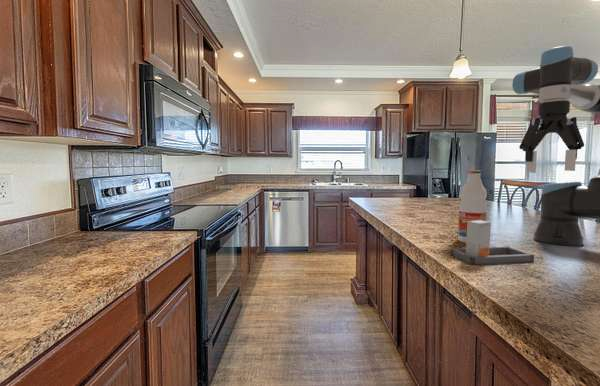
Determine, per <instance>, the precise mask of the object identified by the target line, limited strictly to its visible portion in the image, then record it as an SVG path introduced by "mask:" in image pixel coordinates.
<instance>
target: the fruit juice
mask: <svg viewBox="0 0 600 386" xmlns="http://www.w3.org/2000/svg"><path fill="white" fill-rule="evenodd" d="M466 174H467V179H466V180H465V184H464V185H463V186H462V188H461V190H460V192H459V195H460V198H461V201H460V202H459V205H458V206H459V208H458V230H457V231H458V237H457V238H458V241H459V242H460V243H463V244H464V243H465V244H466V238H467V222H468V221H476V220H482V221H487V204H486V199H487V196H488V195H487V194H488V192H487V189H486V188H485V186H484V185H483V182H482V179H481V175H482V170H480V169H479V170H478V169H477V170H475V169H474V170H473V169H472V170H470V169H469V170H467V171H466Z"/></svg>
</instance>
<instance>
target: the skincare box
mask: <svg viewBox="0 0 600 386" xmlns="http://www.w3.org/2000/svg"><path fill="white" fill-rule="evenodd" d="M491 227H492V222H491V221H487V220H486V221H482V220H476V221H468V222H467V238H466V243H465V247H466V254H467V255H469V256H472V257H476V256H490V254H489V247H490V239H491Z"/></svg>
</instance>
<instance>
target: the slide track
mask: <svg viewBox="0 0 600 386" xmlns="http://www.w3.org/2000/svg"><path fill="white" fill-rule="evenodd" d="M499 254H500V255H499ZM450 255H451V256H453V257H454V258H457V259H459V260H461V261H464V262H466V263H468V264H470V265H472V266H473V265H486V264H487V265H489V264H490V265H491V264H511V263H528V262H530V261H531V262H535V254H532V253H529V252H526V251H523V250H520V249H517V248H514V247H511V246H508V245H506V246H505V245H504V246H503V245H502V246H500V245H493V246H489V256H476V257H472V256H469V255H467V254H466V246H465V247H464V246H463V247H461V248H460V247H459V248H450ZM531 262H530V263H531Z"/></svg>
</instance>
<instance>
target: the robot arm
mask: <svg viewBox="0 0 600 386" xmlns="http://www.w3.org/2000/svg"><path fill="white" fill-rule="evenodd" d="M539 63H540V64H539V67H538V68H533V69H530V70H525V71H523V72H519V73H517V74H516V75H514V77H513V79H512V83H511V85H512V90H513V92H514V93H515V94H517V95H523V94H524V95H525V94H529V93H530V94H531V93H532V94H535V95H539V96H538V102H539V104H538V112H537V113H538V116H540V117H535V118H534V117H533V118H530V120H529V126H528V128H527V130H526V132H525V135H524V137H523V138H522V141H521V143H520V145H519V146H518V149H520V150H522V151H523V152H525V155H524V156H525V157H524V161H525V162H526V171H525V172H526V173H537V157H538V156H537V154H538V151H537V150H536V148H537V147H538V146H539V144H541V142H542V141H543V139H544V138H545V137H546V135H547V134H551V133H552V134H554V133H555V134H557V135H558V136H559V137H560V139H561V141H562V142H563V143H564V145H565V146H566V147H567V149H565V154H564V155H565V156H564V157H565V158H564V171H565V172H568V171H569V172H570V171H572V172H573V171H574V172H576V161H577V159H578V150H581V149H583V147H584V146H585V142H584V140H583V138H582V135H581V132H580V129H579V127H578V123H577V117H576V116H572V117H567V115H568V114H570V111H571V109H570V108H571V106H572V107H573V108H574V109H576V110H579V111H582V112H586V113H591V114H600V84H598V85H596V84H592V83H590V82H591V81H592V80H594V78H596V76H597V74H598V72H599V66H598V64H597V62H596V61H595V60H592V59H591V58H590V59H589V58H587V57H577V56H576V57H575V56H574V50H573V47H572V46H571V45H562V46H561V45H560V46H557V47H552V48H549V49H546V50H544V51H543V52H542V53H541V55H540V62H539ZM588 83H589V84H588ZM541 189H542V190H541V194H540V197H541V200H540V201H541V202H540V218H539V222H538V225H537V227H536V230H535V231H534V232H533V239H534V240H535V241H538V242H541V243H544V244H551V245H558V246H570V247H571V246H573V247H575V246H582V245H584V237H583V236H582V235H583V234H582V230H581V228H580V224H579V219H580V218H581V219H582V218H583V219H589V220H599V221H600V168H599V169H598V172H597V175H596V176H594V177H592V178H590V180H589V181H588V184H587V185H582V182H581V181H568V182H565V181H564V182H554V183H553V182H552V183H550V182H549V183H545V184H544V185H543V186H542V188H541Z"/></svg>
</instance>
